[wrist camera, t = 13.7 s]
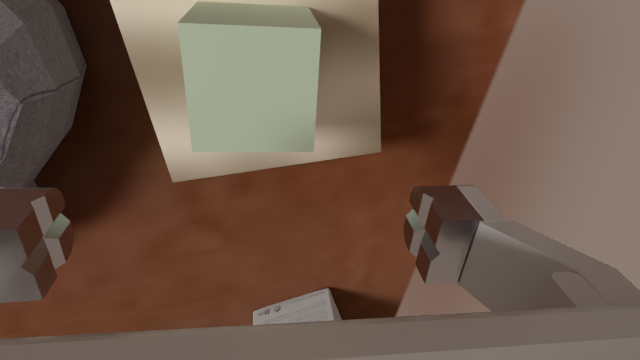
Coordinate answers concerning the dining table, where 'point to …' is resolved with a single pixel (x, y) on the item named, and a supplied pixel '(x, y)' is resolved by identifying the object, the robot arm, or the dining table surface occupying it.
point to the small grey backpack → (35, 86)
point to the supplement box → (300, 309)
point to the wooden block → (332, 96)
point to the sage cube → (250, 76)
